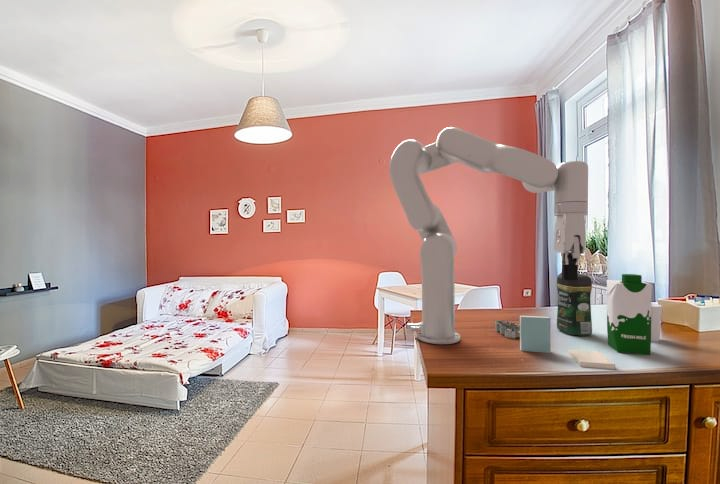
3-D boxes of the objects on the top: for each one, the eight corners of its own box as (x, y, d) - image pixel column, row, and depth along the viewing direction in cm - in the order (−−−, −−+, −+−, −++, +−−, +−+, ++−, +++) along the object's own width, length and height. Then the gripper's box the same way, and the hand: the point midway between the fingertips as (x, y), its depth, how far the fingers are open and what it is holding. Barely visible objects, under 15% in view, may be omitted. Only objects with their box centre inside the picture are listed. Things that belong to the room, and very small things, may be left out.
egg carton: (530, 339, 102) (530, 326, 102) (505, 339, 102) (505, 326, 102) (515, 329, 113) (515, 317, 113) (492, 329, 113) (492, 317, 113)
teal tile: (521, 350, 91) (521, 316, 91) (520, 348, 93) (519, 315, 93) (550, 352, 90) (550, 318, 89) (548, 350, 91) (548, 316, 91)
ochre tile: (568, 355, 89) (580, 368, 80) (567, 349, 89) (579, 361, 80) (599, 357, 87) (615, 371, 78) (599, 351, 87) (614, 364, 78)
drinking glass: (662, 343, 96) (662, 307, 96) (632, 339, 100) (632, 305, 100) (660, 337, 101) (660, 303, 101) (631, 334, 105) (631, 301, 105)
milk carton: (614, 353, 88) (614, 275, 88) (602, 342, 97) (602, 272, 97) (656, 356, 86) (656, 276, 85) (640, 345, 94) (640, 272, 94)
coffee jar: (552, 328, 112) (551, 271, 112) (575, 328, 113) (575, 271, 113) (571, 337, 103) (571, 275, 103) (597, 336, 103) (597, 274, 103)
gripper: (546, 212, 99) (545, 276, 99) (563, 208, 84) (562, 283, 84) (576, 211, 97) (575, 277, 97) (599, 207, 82) (597, 284, 83)
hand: (569, 279), depth 91 cm, fingers closed
